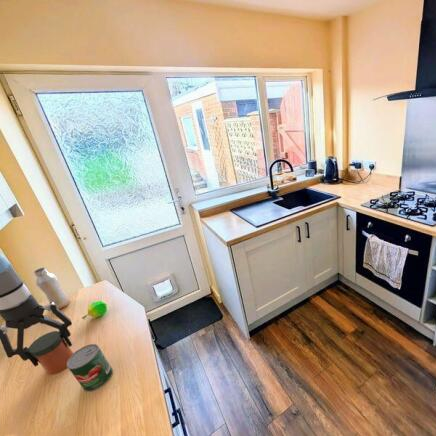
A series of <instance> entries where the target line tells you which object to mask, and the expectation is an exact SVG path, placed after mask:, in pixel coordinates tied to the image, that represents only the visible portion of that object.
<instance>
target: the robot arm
mask: <svg viewBox="0 0 436 436" xmlns="http://www.w3.org/2000/svg"><path fill="white" fill-rule="evenodd" d="M45 311H47V312H52V314H53V315H54V316H55V317H56V318H58V319H59V320H60V321H61V322H60V321H58V320H56V319H53V318H51V317H48V316H47V315H45V314H44V312H45ZM0 317H1V318H2V320H3V321H4V322H5V324H3V325H1V326H0V343H1V345H2V347H3V350H4V352H5V354H6V356H7V358H8V359H9V358H13V357H14V356H19V357H20V358H21V360H22V361H23V362H26V361H28V360H29V362H31V363H32V365H33V366H34V367H38V366H39V362H38V361H37V360H36V358H35V357H32V355H31V354H30V353H29V352H28V348H29V347H28V346H25V347H24V338H25V337H24V335H25V330H27V329H29V328H30V327H32V326H34V325H37V324H42V325H43V324H44V325H46V326H49V327H51V328H54V329H56V330H58V331H59V332H60V334H61V336H62V337H63V339H64V340H65V342H66V343H67V344H68V346H69V347H70V348H71V347H72V346H73V343H72V341H71V339H70V338H69V337H70V336H71V332H70V330H69V327H70V326H72V325H73V323H72V320H71V319H70V318H69V317H68V316H67V315H66V314H65V313H64V312H63V311H61V309H58V308H57V307H56V306H55V303H54V302H51V303H50V304H49V303H48V304H46V305H41V304H40V303H39V302H38V301H37V300H36V298H35V296H34V295H32V294H31V291H30V289H29V288H28V287H27V286H26V285H25V283H24V281H23V280H22V279H21V277H20V276H19V274H18V273H17V271H16V270H15V269H14V267H13V266H12V264H11V262H10V260H8V259H7V258H6V257H5V256H4V255H3V254H2V253H0ZM8 329H16V330H17V333H16V348H13V346H12V344H11V341H10V339H9V336H8V333H7V332H8Z"/></svg>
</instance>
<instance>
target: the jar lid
mask: <svg viewBox="0 0 436 436" xmlns="http://www.w3.org/2000/svg"><path fill="white" fill-rule="evenodd" d="M62 340H63V337H62V336H61V334H60V332H59V330H54V331H50V332H47V333H45V334H43V335H41V336H39V337H38V338H36V339H35V340H34V341H33V342H32V343H31V344H29V346H28V347H27V348H28V352H29V353H30V354H31V355H32V357H38V356H42V355H44V354H47V353H49V352H50V351H52V350H53V349H55V348H56V347H57V346H58V345H59V344H60V343H61V342H62Z"/></svg>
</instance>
